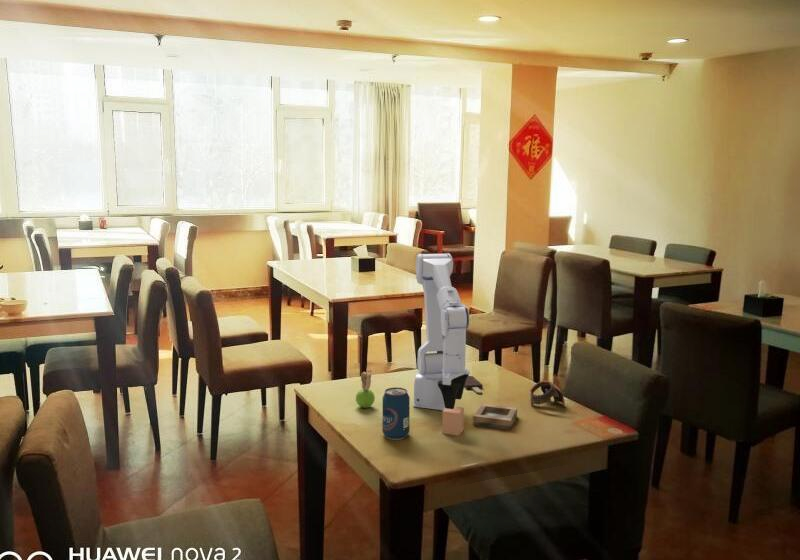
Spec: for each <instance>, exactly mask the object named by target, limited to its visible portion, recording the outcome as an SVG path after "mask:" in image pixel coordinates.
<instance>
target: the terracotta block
mask: <svg viewBox="0 0 800 560" xmlns="http://www.w3.org/2000/svg"><path fill="white" fill-rule="evenodd" d="M464 410H465V407H461V406H456V405H455V406H454V409H447V408H445V409H444V410H442V424H441V425H442V426H441V427H442V432H441V433H442V434H445V435H446V434H447V435H453V436H460V435H461V433H462V432H463V430H464V421H465V420H464V417H465V415H464V414H465V413H464Z"/></svg>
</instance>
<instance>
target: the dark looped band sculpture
mask: <svg viewBox="0 0 800 560" xmlns="http://www.w3.org/2000/svg"><path fill="white" fill-rule="evenodd" d="M539 388H540V390H541V392H542V394H538V395H537V394H534V393H535V392H536V391H537V390H538V389H539ZM529 390H530V397H529V402H530V404H531V406H533V405H541V404H546V403H549V404H552V400H551V399H552V398H553V402H554V403H556V402H557V403H561V404H562V406H563V407H562V408H564V407H565V408H566V404H565V398H564V394H563V392H562V390H561V388H560V387H559V386H557V385H556V384H554V383H553V382H552V381H550V380H548V379H545V380H541V381H538V382H537V383H535V384H534V385H533V386H532V387H531V388H530V389H529Z"/></svg>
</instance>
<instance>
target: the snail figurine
mask: <svg viewBox="0 0 800 560" xmlns="http://www.w3.org/2000/svg"><path fill="white" fill-rule="evenodd" d="M371 373H372V369H370V370H367V371H362V373H361V374H360V380H361V381H360V382H361V385H360V386H361V389H360V390H359V391H358V392H357V393H356V395H355V402H356V404H357V405H358V406H359V407H360V408H365V409H367V408H370V407H371V406H373V404H374V402H375V398H376V397H375V393H374V392H373V391H372V390H370V387H371V383H372V379H371V378H372V374H371Z"/></svg>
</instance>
